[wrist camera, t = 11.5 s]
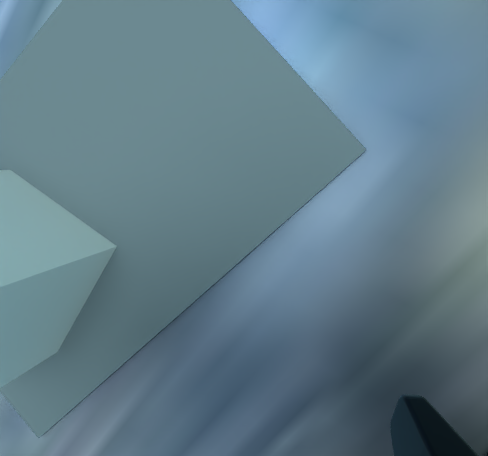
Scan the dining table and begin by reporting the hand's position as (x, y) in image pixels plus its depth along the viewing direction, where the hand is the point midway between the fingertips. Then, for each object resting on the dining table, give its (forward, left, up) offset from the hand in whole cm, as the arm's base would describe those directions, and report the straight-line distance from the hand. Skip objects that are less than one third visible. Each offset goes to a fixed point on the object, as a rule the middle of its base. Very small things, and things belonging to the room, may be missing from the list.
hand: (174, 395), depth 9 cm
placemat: (+1, +9, -12) cm, 15 cm away
